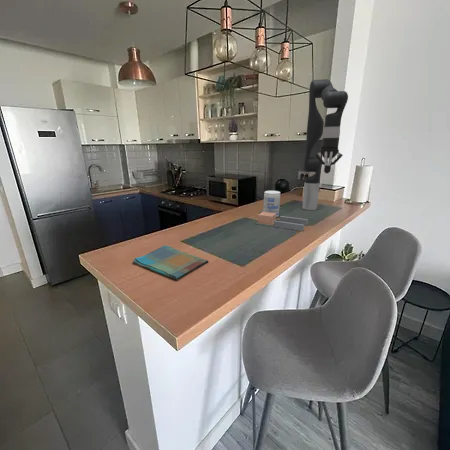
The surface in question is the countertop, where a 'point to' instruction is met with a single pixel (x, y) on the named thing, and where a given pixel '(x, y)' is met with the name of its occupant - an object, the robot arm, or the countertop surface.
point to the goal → (265, 224)
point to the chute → (291, 223)
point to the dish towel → (170, 262)
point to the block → (267, 218)
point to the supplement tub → (271, 202)
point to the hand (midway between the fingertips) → (326, 173)
